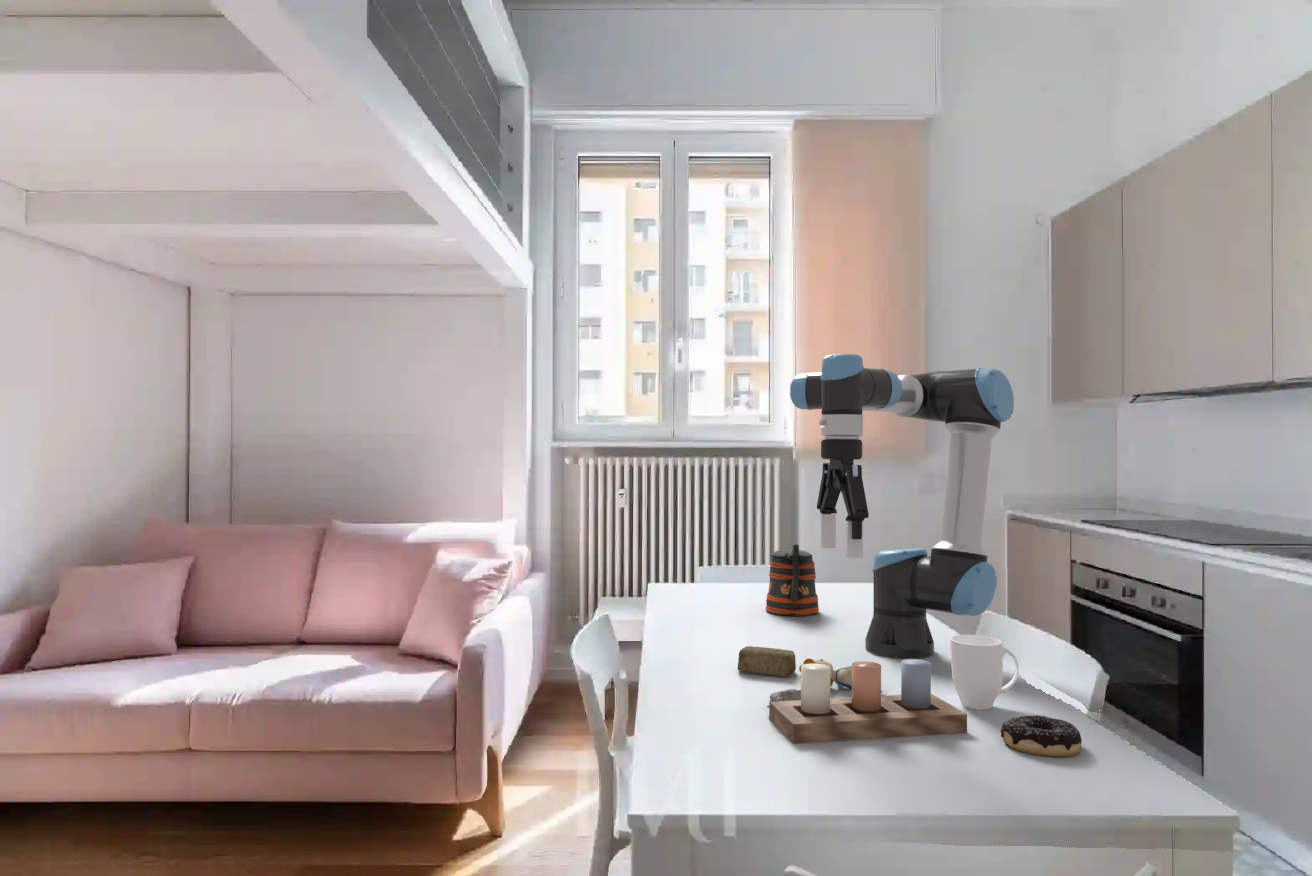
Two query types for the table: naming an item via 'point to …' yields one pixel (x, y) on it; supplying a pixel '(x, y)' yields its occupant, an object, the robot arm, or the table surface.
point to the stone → (785, 695)
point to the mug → (979, 669)
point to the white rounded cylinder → (815, 688)
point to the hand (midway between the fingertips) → (840, 552)
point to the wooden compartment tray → (866, 720)
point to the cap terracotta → (866, 686)
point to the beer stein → (792, 583)
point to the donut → (1042, 736)
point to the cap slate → (916, 683)
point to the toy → (834, 673)
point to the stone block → (767, 661)
